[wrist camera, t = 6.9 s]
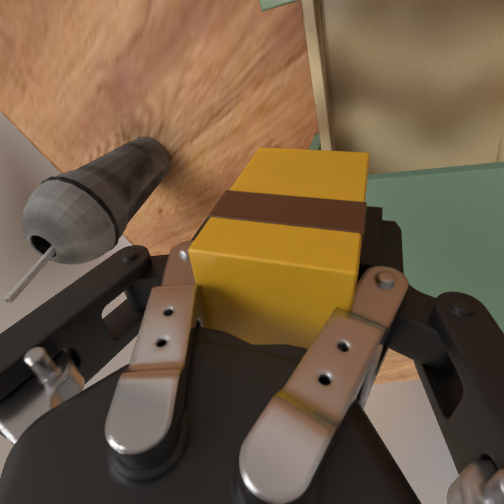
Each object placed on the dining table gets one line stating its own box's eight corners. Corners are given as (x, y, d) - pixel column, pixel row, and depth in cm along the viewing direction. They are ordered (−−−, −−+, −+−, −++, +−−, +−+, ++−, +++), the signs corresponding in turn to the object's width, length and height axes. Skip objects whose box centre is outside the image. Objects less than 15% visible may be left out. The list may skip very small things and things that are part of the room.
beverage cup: (131, 107, 33) (-70, 223, 19) (193, 155, 35) (50, 298, 20) (111, 160, 38) (-62, 284, 24) (166, 200, 39) (35, 341, 25)
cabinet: (315, 133, 30) (292, 186, 23) (530, 101, 24) (586, 160, 17) (335, 272, 39) (323, 340, 32) (494, 274, 33) (522, 357, 26)
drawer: (286, -54, 22) (247, -59, 16) (587, -166, 16) (701, -237, 10) (321, 184, 32) (305, 237, 26) (518, 166, 26) (556, 229, 20)
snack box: (257, 145, 14) (184, 247, 9) (371, 150, 13) (361, 272, 8) (263, 243, 17) (211, 359, 12) (356, 254, 16) (340, 389, 11)
